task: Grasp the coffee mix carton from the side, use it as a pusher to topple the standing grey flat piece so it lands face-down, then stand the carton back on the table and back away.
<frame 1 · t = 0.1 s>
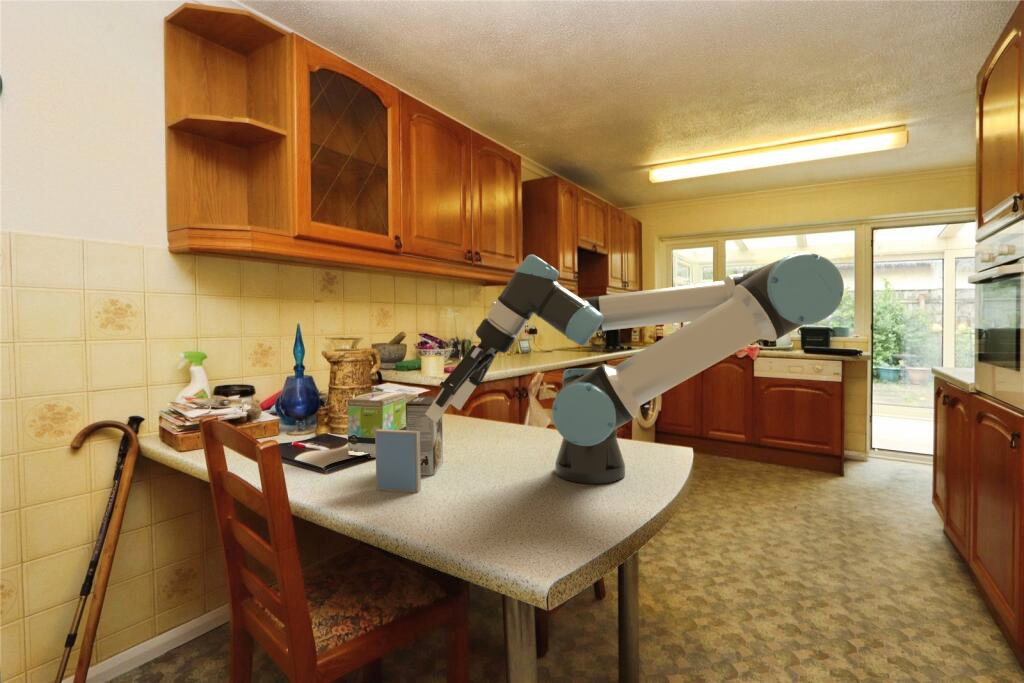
hand: (443, 412, 100), 15 cm above the counter, tool tilted 35°, fingers open, 13 cm apart
tea box: (379, 450, 129), on the counter
grey flat piece: (398, 490, 98), on the counter
coffee box: (425, 470, 111), on the counter
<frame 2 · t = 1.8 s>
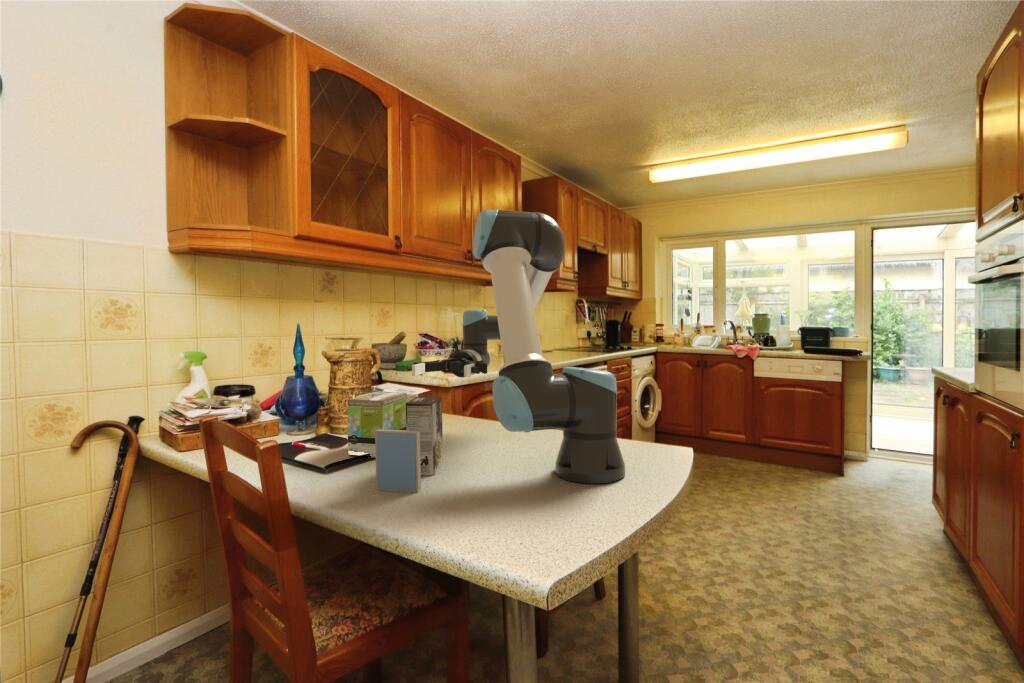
hand: (439, 371, 120), 22 cm above the counter, tool horizontal, fingers open, 13 cm apart
nothing on the counter moved.
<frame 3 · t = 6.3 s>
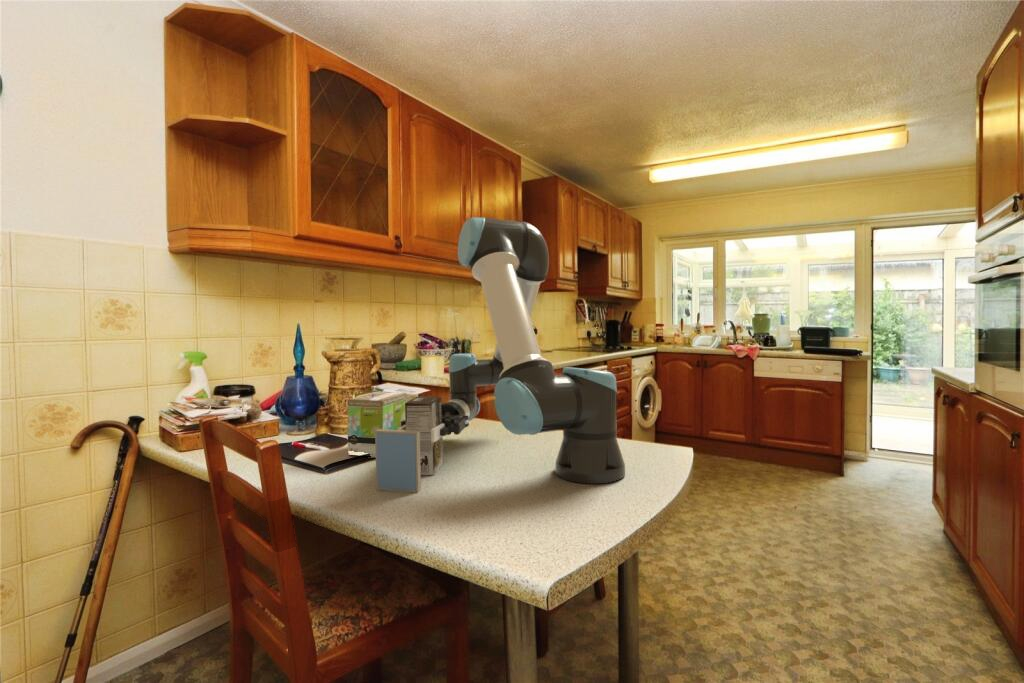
hand: (416, 435, 106), 9 cm above the counter, tool horizontal, fingers closed on coffee box, 7 cm apart
coffee box: (425, 470, 111), on the counter, touching gripper
everything else where it was.
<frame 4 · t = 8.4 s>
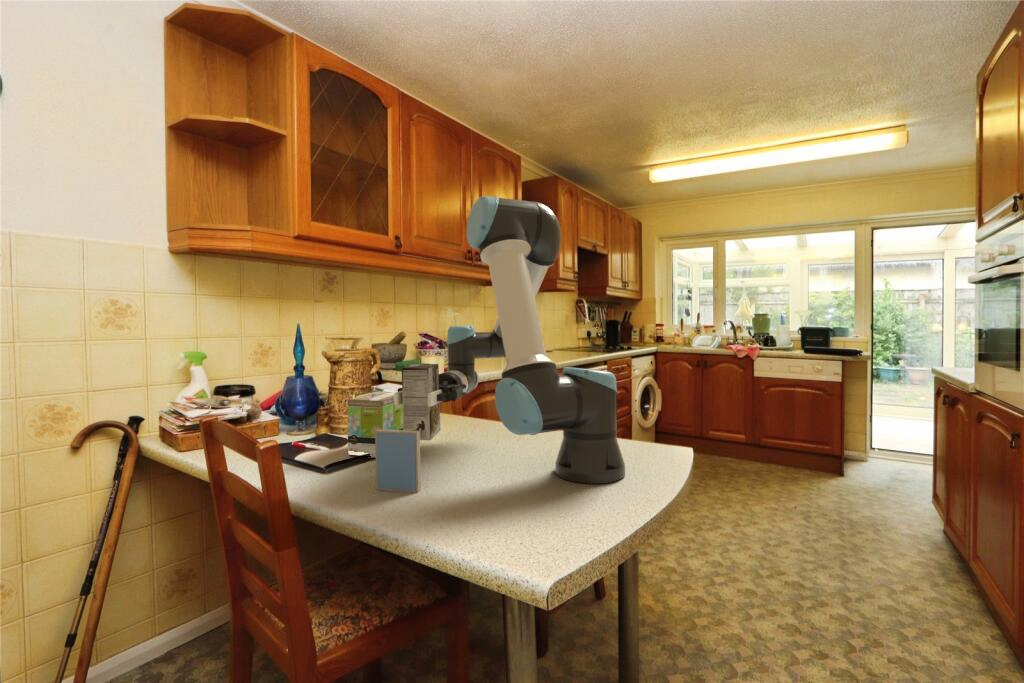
hand: (412, 399, 105), 17 cm above the counter, tool horizontal, fingers closed on coffee box, 7 cm apart
coffee box: (422, 436, 110), point 8 cm above the counter, touching gripper
everything else where it was.
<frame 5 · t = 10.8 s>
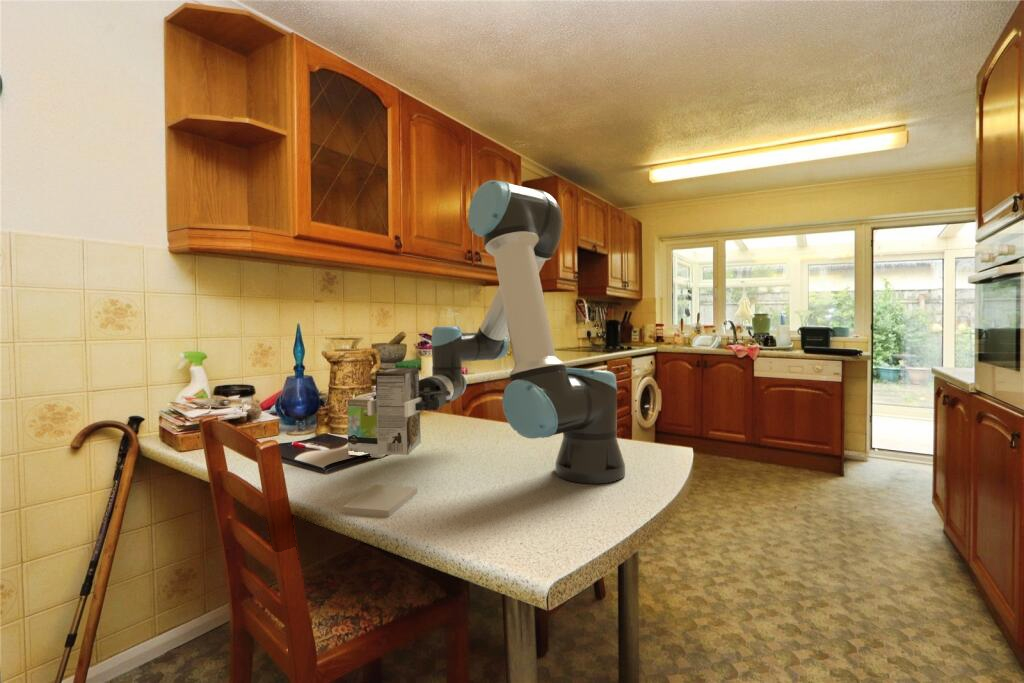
hand: (387, 409, 94), 17 cm above the counter, tool horizontal, fingers closed on coffee box, 7 cm apart
grey flat piece: (396, 490, 97), on the counter, tilted 90°
coffee box: (400, 449, 99), point 8 cm above the counter, touching gripper
everything else where it was.
when the fingers open (10 cm above the counter, at t = 14.7 s): coffee box drops 1 cm, on the counter.
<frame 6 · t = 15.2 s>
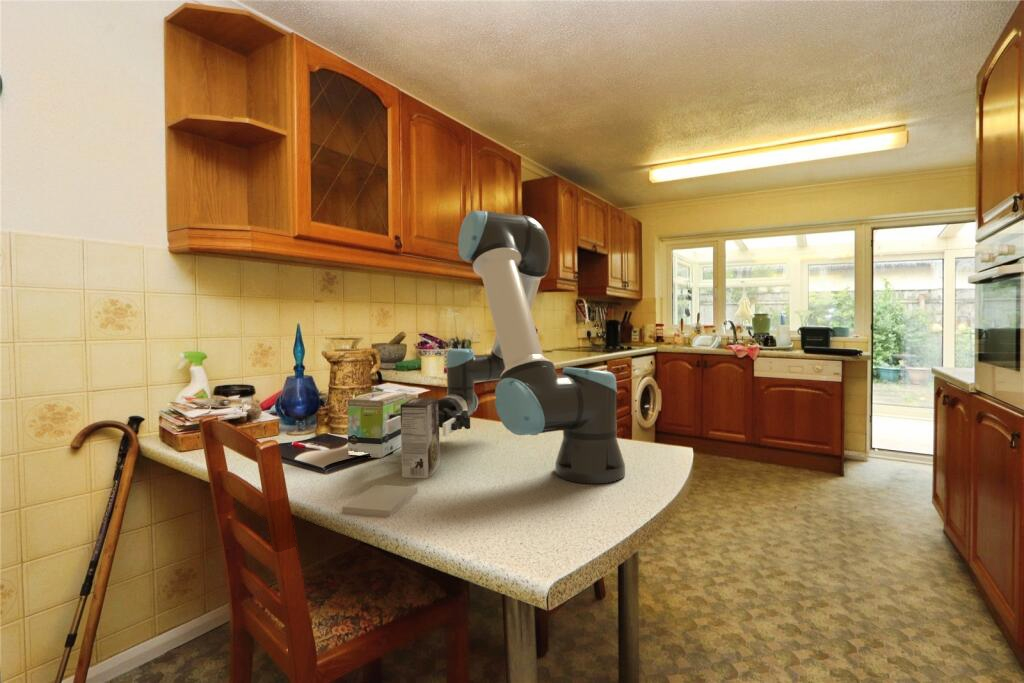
hand: (415, 428, 106), 10 cm above the counter, tool horizontal, fingers open, 13 cm apart
coffee box: (421, 472, 109), on the counter
everything else where it was.
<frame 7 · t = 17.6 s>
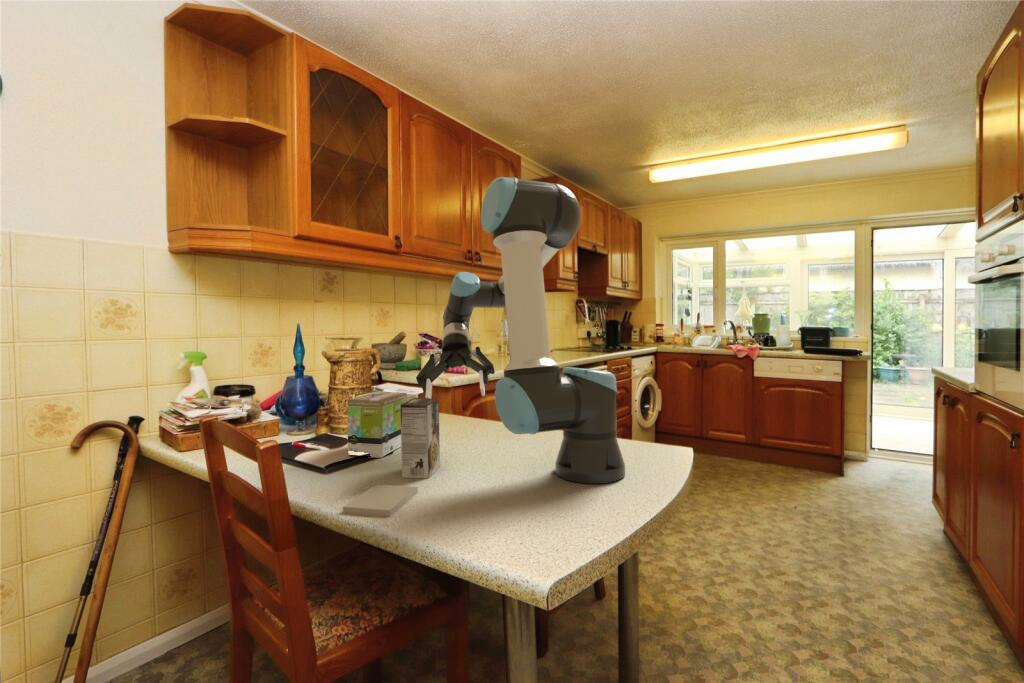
hand: (455, 396, 120), 15 cm above the counter, tool tilted 55°, fingers open, 13 cm apart
nothing on the counter moved.
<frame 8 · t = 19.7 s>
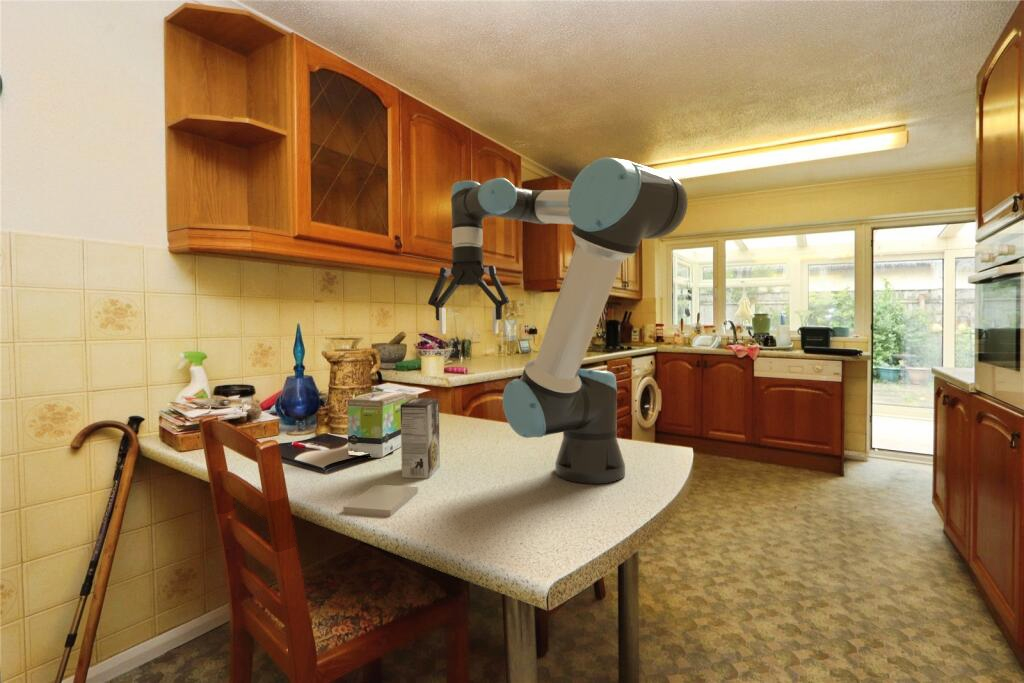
hand: (468, 333, 120), 31 cm above the counter, tool pointing down, fingers open, 13 cm apart
nothing on the counter moved.
at the end: grey flat piece tilted 90°; coffee box tilted 0°; the gripper is holding nothing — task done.
